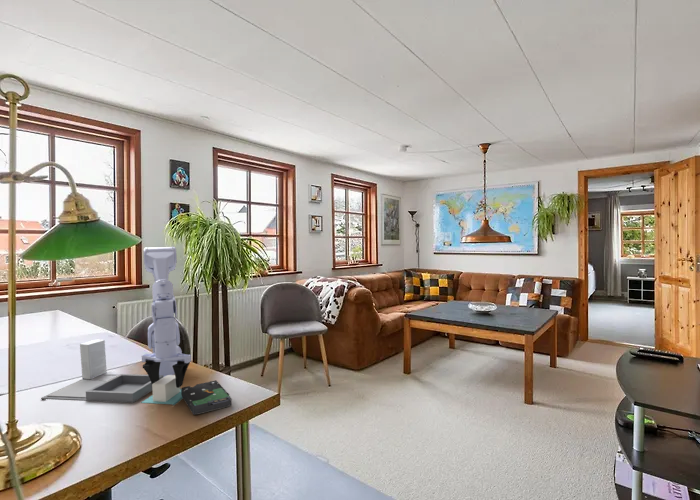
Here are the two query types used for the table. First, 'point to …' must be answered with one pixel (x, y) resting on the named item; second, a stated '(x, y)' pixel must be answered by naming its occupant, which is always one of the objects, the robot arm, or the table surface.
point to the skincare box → (93, 358)
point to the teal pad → (173, 401)
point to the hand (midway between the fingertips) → (167, 385)
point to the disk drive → (205, 397)
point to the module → (165, 388)
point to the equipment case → (106, 389)
